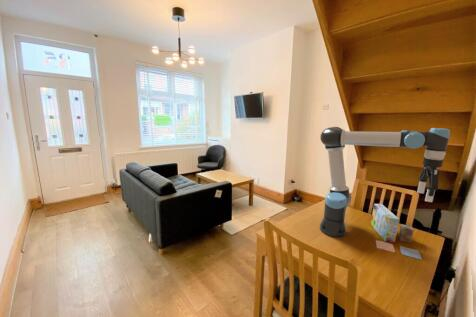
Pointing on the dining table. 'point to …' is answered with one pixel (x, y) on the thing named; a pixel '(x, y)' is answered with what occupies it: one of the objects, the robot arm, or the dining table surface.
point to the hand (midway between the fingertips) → (424, 197)
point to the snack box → (385, 223)
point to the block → (406, 233)
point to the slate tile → (410, 252)
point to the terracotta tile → (385, 246)
